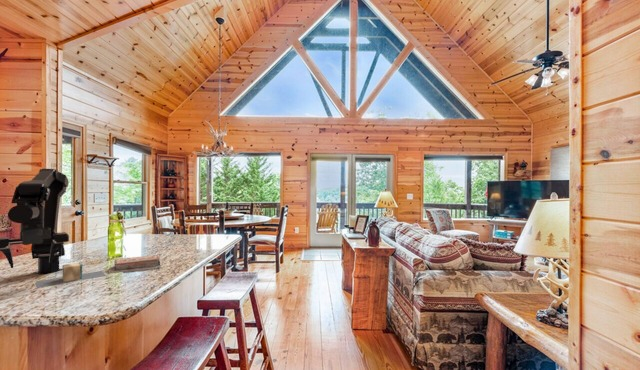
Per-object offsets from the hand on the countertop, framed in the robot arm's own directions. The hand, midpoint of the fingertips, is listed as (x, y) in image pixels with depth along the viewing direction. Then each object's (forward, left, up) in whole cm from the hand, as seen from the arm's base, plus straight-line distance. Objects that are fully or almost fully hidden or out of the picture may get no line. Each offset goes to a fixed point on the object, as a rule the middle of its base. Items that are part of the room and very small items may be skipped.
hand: (31, 265), depth 100 cm
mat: (+5, +9, -7) cm, 13 cm away
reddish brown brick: (+15, +28, -8) cm, 32 cm away
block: (+4, +7, -4) cm, 9 cm away
